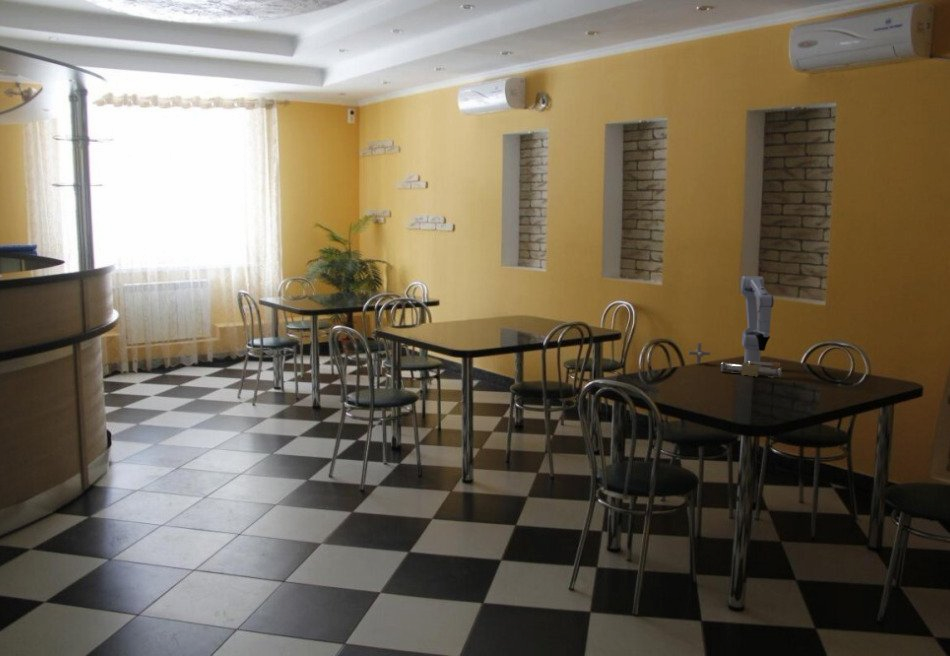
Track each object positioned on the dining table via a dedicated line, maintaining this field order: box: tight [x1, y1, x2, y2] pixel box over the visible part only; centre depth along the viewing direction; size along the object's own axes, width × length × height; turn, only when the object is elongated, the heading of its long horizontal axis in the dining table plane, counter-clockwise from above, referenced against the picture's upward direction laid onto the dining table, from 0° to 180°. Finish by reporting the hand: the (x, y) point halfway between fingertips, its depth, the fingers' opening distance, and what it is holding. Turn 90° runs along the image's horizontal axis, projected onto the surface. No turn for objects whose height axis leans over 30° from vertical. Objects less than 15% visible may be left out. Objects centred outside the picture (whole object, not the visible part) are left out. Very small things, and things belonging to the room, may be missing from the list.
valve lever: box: [748, 360, 781, 368], centre depth 385 cm, size 14×3×1 cm, turn 65°
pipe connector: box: [687, 342, 711, 364], centre depth 413 cm, size 10×10×10 cm
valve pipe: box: [720, 361, 783, 379], centre depth 388 cm, size 6×26×5 cm, turn 63°
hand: (761, 350), depth 392 cm, fingers closed
